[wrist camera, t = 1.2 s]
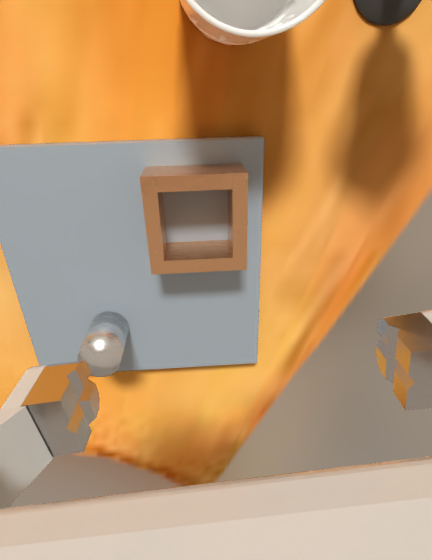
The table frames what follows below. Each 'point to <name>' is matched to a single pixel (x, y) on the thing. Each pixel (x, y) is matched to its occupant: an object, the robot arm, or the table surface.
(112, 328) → the piston
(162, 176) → the collar
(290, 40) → the table surface
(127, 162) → the plate
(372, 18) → the sundae
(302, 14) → the white cup
